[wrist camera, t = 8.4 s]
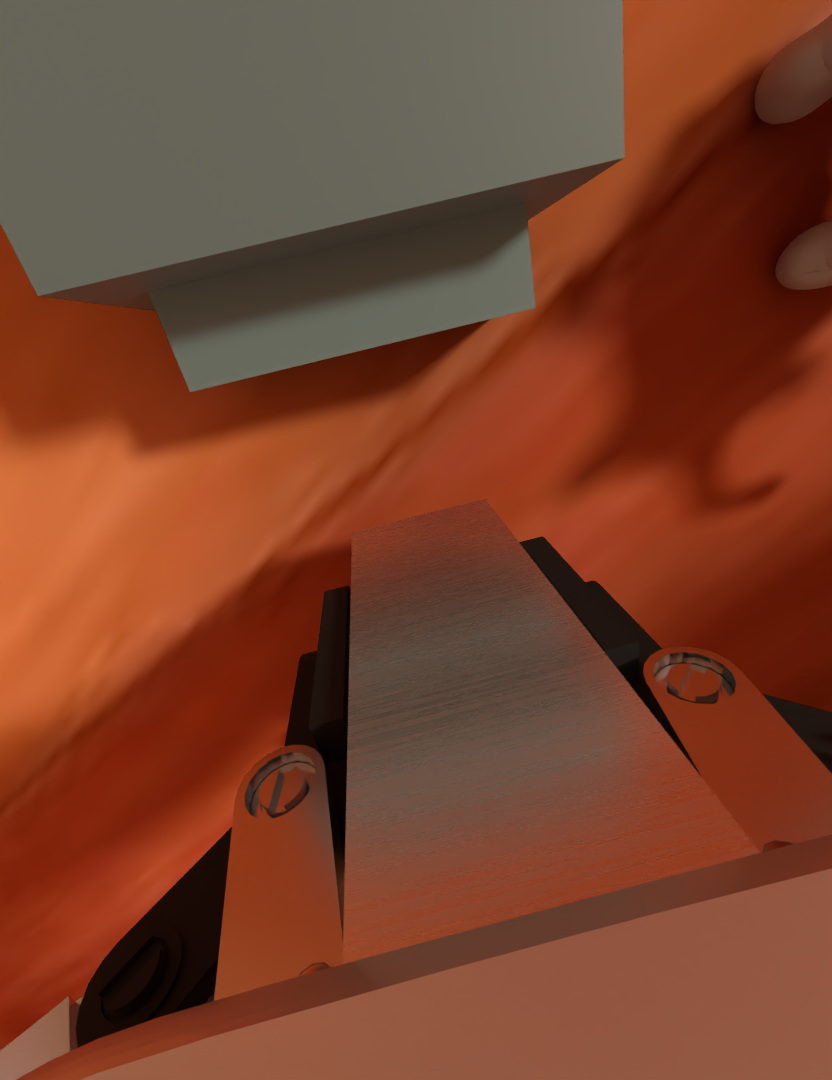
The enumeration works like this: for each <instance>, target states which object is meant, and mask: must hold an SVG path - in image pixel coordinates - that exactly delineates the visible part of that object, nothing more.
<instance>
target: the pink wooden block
mask: <svg viewBox="0 0 832 1080" xmlns="http://www.w3.org/2000/svg"><path fill="white" fill-rule="evenodd" d="M758 853H760V852H759V851H758V849H757V848H756V847H755V845H754V844H753V843H752V842H751V840H750V839H749V838H748V836H747V835H746V834H745V833H744V831H743V830H742V829H741V827H740V826H739V825H738V824H737V822H736V821H735V820H734V818H733V817H732V816H731V815H730V813H729V812H728V811H727V809H726V808H725V807H724V806H723V804H722V803H721V802H720V800H719V799H718V798H717V797H716V795H715V794H714V793H713V791H712V790H711V789H710V788H709V786H708V785H707V784H706V782H705V781H704V780H703V779H702V777H701V776H700V775H699V773H698V772H697V771H696V770H695V768H694V767H693V766H692V764H691V763H690V762H689V760H688V759H687V758H686V757H685V755H684V754H683V753H682V751H681V750H680V749H679V748H678V746H677V745H676V744H675V742H674V741H673V740H672V739H671V737H670V736H669V735H668V733H667V732H666V731H665V730H664V728H663V727H662V726H661V724H660V723H659V722H658V721H657V719H656V718H655V717H654V715H653V714H652V713H651V712H650V710H649V709H648V708H647V706H646V705H645V704H644V703H643V701H642V700H641V699H640V697H639V696H638V695H637V694H636V692H635V691H634V690H633V688H632V687H631V686H630V685H629V683H628V682H627V681H626V679H625V678H624V677H623V676H622V674H621V673H620V672H619V670H618V669H617V668H616V667H615V665H614V664H613V663H612V661H611V660H610V659H609V658H608V656H607V655H606V654H605V652H604V651H603V650H602V649H601V647H600V646H599V645H598V643H597V642H596V641H595V640H594V638H593V637H592V636H591V634H590V633H589V632H588V631H587V629H586V628H585V627H584V625H583V624H582V623H581V621H580V620H579V619H578V618H577V616H576V615H575V614H574V612H573V611H572V610H571V609H570V607H569V606H568V605H567V603H566V602H565V601H564V600H563V598H562V597H561V596H560V594H559V593H558V592H557V591H556V589H555V588H554V587H553V585H552V584H551V583H550V582H549V580H548V579H547V578H546V576H545V575H544V574H543V573H542V571H541V570H540V569H539V567H538V566H537V565H536V564H535V562H534V561H533V560H532V558H531V557H530V556H529V555H528V553H527V552H526V551H525V549H524V548H523V547H522V546H521V544H520V543H519V542H518V540H517V539H516V538H515V537H514V535H513V534H512V533H511V531H510V530H509V529H508V528H507V526H506V525H505V524H504V522H503V521H502V520H501V519H500V517H499V516H498V515H497V513H496V512H495V511H494V510H493V508H492V507H491V506H490V504H489V503H488V502H487V501H486V499H483V500H479V501H475V502H471V503H467V504H463V505H459V506H455V507H451V508H447V509H443V510H439V511H435V512H431V513H427V514H423V515H419V516H415V517H411V518H406V519H402V520H398V521H394V522H390V523H386V524H382V525H378V526H374V527H370V528H366V529H362V530H358V531H354V532H352V557H351V604H350V650H349V697H348V743H347V790H346V836H345V883H344V929H343V964H346V963H350V962H354V961H357V960H361V959H365V958H368V957H372V956H376V955H379V954H383V953H387V952H390V951H394V950H398V949H401V948H405V947H409V946H412V945H416V944H419V943H423V942H427V941H430V940H434V939H438V938H441V937H445V936H449V935H452V934H456V933H460V932H464V931H467V930H471V929H475V928H479V927H482V926H486V925H490V924H493V923H497V922H501V921H505V920H508V919H512V918H516V917H520V916H523V915H527V914H531V913H534V912H538V911H542V910H546V909H549V908H553V907H557V906H561V905H564V904H568V903H572V902H576V901H579V900H583V899H587V898H591V897H594V896H598V895H602V894H606V893H609V892H613V891H617V890H621V889H624V888H628V887H632V886H636V885H639V884H643V883H647V882H651V881H654V880H658V879H662V878H666V877H670V876H673V875H677V874H681V873H685V872H689V871H693V870H696V869H700V868H704V867H708V866H712V865H716V864H719V863H723V862H727V861H731V860H735V859H739V858H742V857H746V856H750V855H754V854H758Z"/></svg>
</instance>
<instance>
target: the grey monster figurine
mask: <svg viewBox="0 0 832 1080" xmlns="http://www.w3.org/2000/svg"><path fill="white" fill-rule="evenodd" d="M831 97H832V15H830V16H829V17H828V18H827V19H825V20H824V21H823V22H821V23H820V24H819V25H817V26H816V27H814V28H813V29H811V30H810V31H808V32H807V33H805V34H804V35H802V36H801V37H799V38H798V39H796V40H795V41H793V42H792V43H790V44H789V45H787V46H786V47H785V48H784V49H782V50H781V51H780V52H779V53H778V54H777V55H776V56H775V57H774V58H773V59H772V60H771V62H770V63H769V64H768V66H767V67H766V69H765V70H764V72H763V74H762V76H761V78H760V80H759V82H758V85H757V88H756V92H755V100H754V104H755V110H756V113H757V115H758V117H759V118H760V119H761V120H762V121H764V122H766V123H769V124H783V123H788V122H792V121H795V120H798V119H800V118H802V117H804V116H806V115H808V114H809V113H811V112H812V111H814V110H815V109H817V108H818V107H819V106H821V105H822V104H823V103H825V102H826V101H827V100H829V99H830V98H831ZM775 272H776V278H777V280H778V281H779V283H780V284H781V285H783V286H784V287H786V288H789V289H794V290H810V289H818V288H823V287H827V286H832V221H827V222H824V223H821V224H818V225H816V226H814V227H812V228H810V229H808V230H806V231H805V232H803V233H802V234H800V235H799V236H797V237H796V238H795V239H794V240H793V241H792V242H791V243H790V244H789V245H788V246H787V247H786V248H785V250H784V251H783V252H782V254H781V256H780V258H779V260H778V262H777V265H776V270H775Z"/></svg>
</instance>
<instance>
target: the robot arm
mask: <svg viewBox="0 0 832 1080" xmlns="http://www.w3.org/2000/svg"><path fill="white" fill-rule="evenodd" d="M519 543H520V544H521V546H522V547H523V548H524V549H525V551H526V552H527V553H528V555H529V556H530V557H531V558H532V560H533V561H534V562H535V564H536V565H537V566H538V567H539V569H540V570H541V571H542V573H543V574H544V575H545V576H546V578H547V579H548V580H549V582H550V583H551V584H552V585H553V587H554V588H555V589H556V591H557V592H558V593H559V594H560V596H561V597H562V598H563V600H564V601H565V602H566V603H567V605H568V606H569V607H570V609H571V610H572V611H573V612H574V614H575V615H576V616H577V618H578V619H579V620H580V621H581V623H582V624H583V625H584V627H585V628H586V629H587V631H588V632H589V633H590V634H591V636H592V637H593V638H594V640H595V641H596V642H597V643H598V645H599V646H600V647H601V649H602V650H603V651H604V652H605V654H606V655H607V656H608V658H609V659H610V660H611V661H612V663H613V664H614V665H615V667H616V668H617V669H618V670H619V672H620V673H621V674H622V676H623V677H624V678H625V679H626V681H627V682H628V683H629V685H630V686H631V687H632V688H633V690H634V691H635V692H636V694H637V695H638V696H639V697H640V699H641V700H642V701H643V703H644V704H645V705H646V706H647V708H648V709H649V710H650V712H651V713H652V714H653V715H654V717H655V718H656V719H657V721H658V722H659V723H660V724H661V726H662V727H663V728H664V730H665V731H666V732H667V733H668V735H669V736H670V737H671V739H672V740H673V741H674V742H675V744H676V745H677V746H678V748H679V749H680V750H681V751H682V753H683V754H684V755H685V757H686V758H687V759H688V760H689V762H690V763H691V764H692V766H693V767H694V768H695V770H696V771H697V772H698V773H699V775H700V776H701V777H702V779H703V780H704V781H705V782H706V784H707V785H708V786H709V788H710V789H711V790H712V791H713V793H714V794H715V795H716V797H717V798H718V799H719V800H720V802H721V803H722V804H723V806H724V807H725V808H726V809H727V811H728V812H729V813H730V815H731V816H732V817H733V818H734V820H735V821H736V822H737V824H738V825H739V826H740V827H741V829H742V830H743V831H744V833H745V834H746V835H747V836H748V838H749V839H750V840H751V842H752V843H753V844H754V845H755V847H756V848H757V849H758V851H759V852H760V853H758V854H754V855H750V856H746V857H742V858H739V859H735V860H731V861H727V862H723V863H719V864H716V865H712V866H708V867H704V868H700V869H696V870H693V871H689V872H685V873H681V874H677V875H673V876H670V877H666V878H662V879H658V880H654V881H651V882H647V883H643V884H639V885H636V886H632V887H628V888H624V889H621V890H617V891H613V892H609V893H606V894H602V895H598V896H594V897H591V898H587V899H583V900H579V901H576V902H572V903H568V904H564V905H561V906H557V907H553V908H549V909H546V910H542V911H538V912H534V913H531V914H527V915H523V916H520V917H516V918H512V919H508V920H505V921H501V922H497V923H493V924H490V925H486V926H482V927H479V928H475V929H471V930H467V931H464V932H460V933H456V934H452V935H449V936H445V937H441V938H438V939H434V940H430V941H427V942H423V943H419V944H416V945H412V946H409V947H405V948H401V949H398V950H394V951H390V952H387V953H383V954H379V955H376V956H372V957H368V958H365V959H361V960H357V961H354V962H350V963H346V964H343V929H344V883H345V836H346V790H347V743H348V697H349V650H350V604H351V589H350V587H349V586H345V587H341V588H337V589H333V590H329V591H325V593H324V601H323V609H322V617H321V626H320V634H319V642H318V650H317V651H314V652H310V653H307V654H303V655H302V656H301V657H300V660H299V666H298V671H297V677H296V683H295V689H294V695H293V700H292V706H291V712H290V718H289V724H288V729H287V735H286V741H285V747H282V748H279V749H277V750H275V751H273V752H271V753H269V754H267V755H266V756H265V757H264V758H262V759H261V760H260V761H258V762H257V763H256V764H255V765H254V766H253V767H252V768H251V769H250V771H249V772H248V773H247V774H246V775H245V777H244V779H243V780H242V782H241V784H240V786H239V788H238V791H237V795H236V798H235V803H234V813H233V822H232V827H231V828H230V829H229V830H228V831H227V832H226V833H225V834H224V835H223V836H222V837H221V838H220V839H219V840H218V841H217V842H216V844H215V845H214V846H213V847H212V848H211V849H210V850H209V851H208V852H207V853H206V854H205V855H204V856H203V857H202V858H201V859H200V860H199V861H198V862H197V863H196V864H195V865H194V866H193V867H192V868H191V869H190V870H189V871H188V872H187V873H186V874H185V875H184V876H183V877H182V878H181V879H180V880H179V881H178V882H177V883H176V884H175V885H174V886H173V887H172V888H171V889H170V890H169V891H168V892H167V893H166V894H165V895H164V896H163V897H162V898H161V899H160V900H159V901H158V902H157V903H156V904H155V905H154V906H153V907H152V908H151V909H150V910H149V911H148V912H147V914H146V915H145V916H144V917H143V918H142V919H141V920H140V921H139V922H138V923H137V924H136V925H135V926H134V927H133V928H132V929H131V930H130V931H129V932H128V933H127V934H126V935H125V936H124V937H123V938H122V939H121V940H120V941H119V942H118V943H117V944H116V946H115V947H114V948H113V949H112V950H111V951H110V953H109V954H108V955H107V956H106V957H105V959H104V960H103V961H102V963H101V964H100V966H99V968H98V969H97V971H96V972H95V974H94V976H93V977H92V979H91V981H90V982H89V984H88V987H87V989H86V992H85V994H84V995H83V996H82V997H81V998H79V999H78V1000H77V1001H76V1002H75V1001H74V1000H73V999H72V998H70V997H69V996H68V997H67V998H66V999H65V1000H63V1001H62V1002H61V1003H60V1004H58V1005H57V1006H56V1007H55V1008H53V1009H52V1010H51V1011H50V1012H48V1013H47V1014H46V1015H45V1016H43V1017H42V1018H41V1019H40V1020H38V1021H37V1022H36V1023H35V1024H33V1025H32V1026H31V1027H30V1028H28V1029H27V1030H26V1031H25V1032H23V1033H22V1034H21V1035H20V1036H18V1037H17V1038H16V1039H15V1040H13V1041H12V1042H11V1043H10V1044H8V1045H7V1046H6V1047H5V1048H3V1049H2V1050H1V1051H0V1080H832V712H828V711H824V710H820V709H817V708H813V707H809V706H805V705H802V704H798V703H794V702H790V701H787V700H783V699H779V698H775V697H772V696H768V695H764V694H761V692H760V691H759V690H758V689H757V688H756V687H755V686H754V684H753V683H752V682H751V681H750V680H749V679H748V678H747V676H746V675H745V674H744V673H743V672H742V671H741V670H740V669H739V668H738V667H737V666H736V665H735V664H733V663H732V662H731V661H730V660H728V659H726V658H724V657H722V656H721V655H719V654H717V653H714V652H711V651H708V650H705V649H701V648H695V647H688V646H681V647H669V648H665V649H662V648H661V647H660V646H659V645H658V644H657V643H656V642H655V641H654V640H653V639H652V638H651V637H650V636H649V635H648V634H647V633H646V632H645V631H644V630H643V629H642V628H641V627H640V625H639V624H638V623H637V622H636V621H635V620H634V619H633V618H632V617H631V616H630V615H629V614H628V613H627V612H626V611H625V610H624V609H623V608H622V607H621V606H620V605H619V604H618V603H617V602H616V601H615V600H614V599H613V598H612V597H611V596H610V594H609V593H608V592H607V591H606V590H605V589H604V588H603V587H602V586H601V585H600V584H599V583H597V582H596V581H589V582H584V581H583V579H582V578H581V577H580V576H579V575H578V574H577V573H576V572H575V571H574V570H573V569H572V567H571V566H570V565H569V564H568V563H567V562H566V561H565V560H564V559H563V558H562V557H561V555H560V554H559V553H558V552H557V551H556V550H555V549H554V548H553V547H552V546H551V545H550V543H549V542H548V541H547V540H546V539H545V538H544V537H538V538H535V539H531V540H527V541H523V542H519Z"/></svg>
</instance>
